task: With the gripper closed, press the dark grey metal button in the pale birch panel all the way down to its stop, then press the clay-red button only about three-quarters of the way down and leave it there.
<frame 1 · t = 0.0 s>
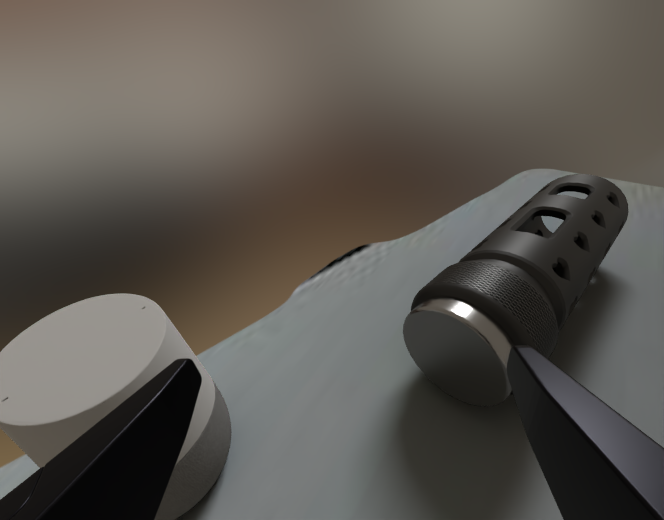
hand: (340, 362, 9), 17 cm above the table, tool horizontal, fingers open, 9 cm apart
muzzle brake: (518, 312, 32), on the table
smart speaker: (181, 466, 24), on the table
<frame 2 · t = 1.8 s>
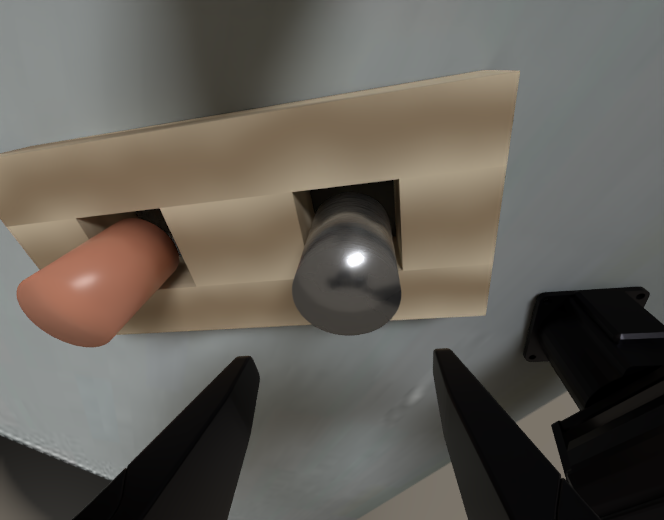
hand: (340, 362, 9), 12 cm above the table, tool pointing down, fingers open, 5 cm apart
red button: (111, 277, 15), point 6 cm above the table, slide at 0.0 cm
button panel: (260, 214, 20), on the table
grey button: (348, 257, 14), point 6 cm above the table, slide at 0.0 cm
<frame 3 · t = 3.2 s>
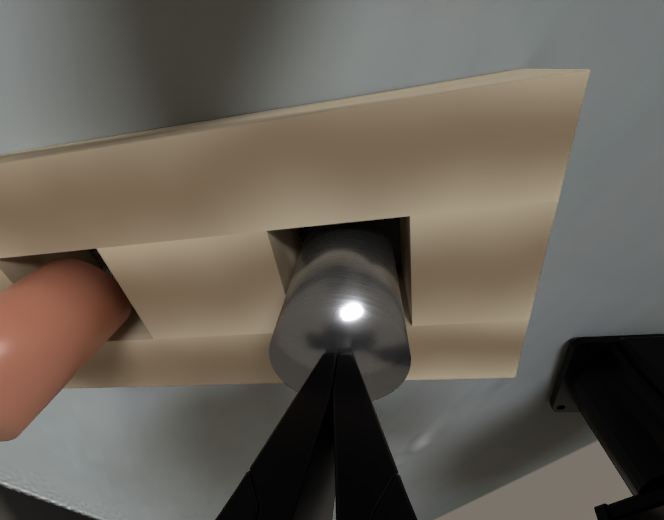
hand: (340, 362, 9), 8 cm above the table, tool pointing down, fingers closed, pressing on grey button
red button: (32, 339, 12), point 6 cm above the table, slide at 0.0 cm
button panel: (235, 245, 16), on the table
grey button: (343, 299, 11), point 5 cm above the table, slide at 1.2 cm, touching gripper
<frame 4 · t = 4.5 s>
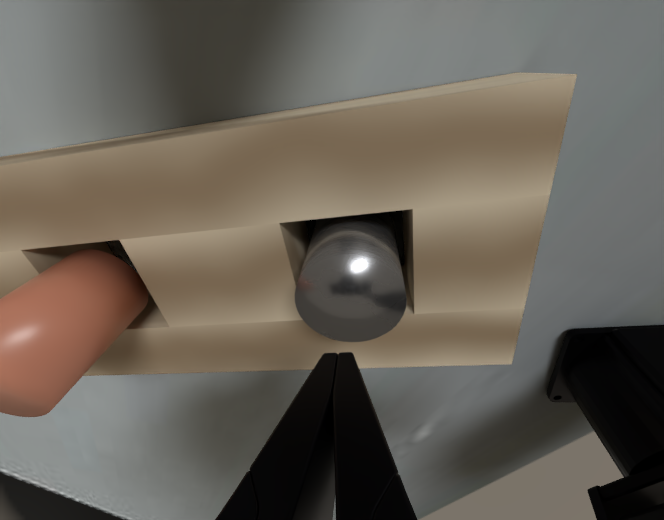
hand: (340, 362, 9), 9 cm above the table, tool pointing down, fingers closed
red button: (59, 324, 13), point 6 cm above the table, slide at 0.0 cm
button panel: (246, 239, 17), on the table
grey button: (352, 261, 13), point 3 cm above the table, slide at 3.0 cm
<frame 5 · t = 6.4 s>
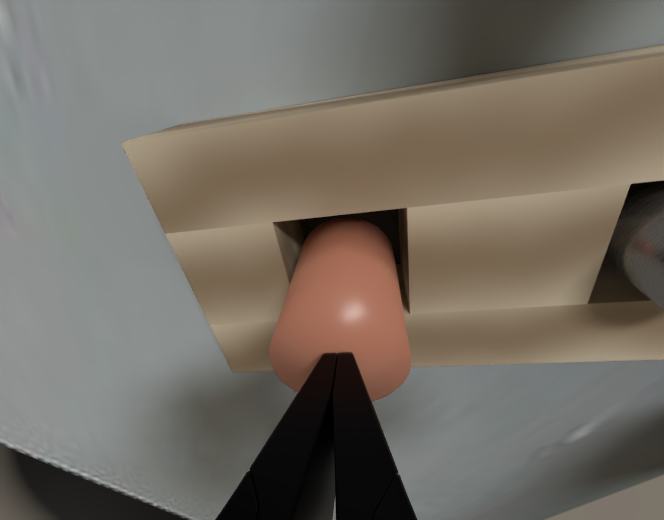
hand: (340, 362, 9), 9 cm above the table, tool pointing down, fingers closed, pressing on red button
red button: (343, 300, 11), point 6 cm above the table, slide at 0.4 cm, touching gripper
button panel: (471, 215, 15), on the table
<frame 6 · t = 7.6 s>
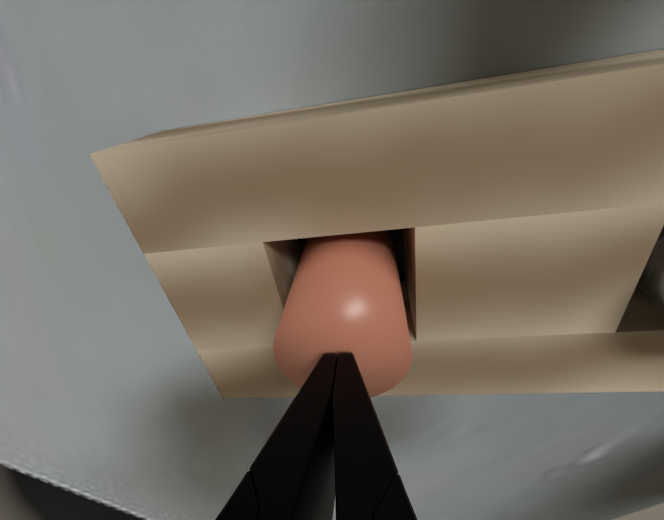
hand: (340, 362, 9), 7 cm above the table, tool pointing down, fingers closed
red button: (345, 297, 11), point 4 cm above the table, slide at 2.1 cm
button panel: (483, 230, 14), on the table
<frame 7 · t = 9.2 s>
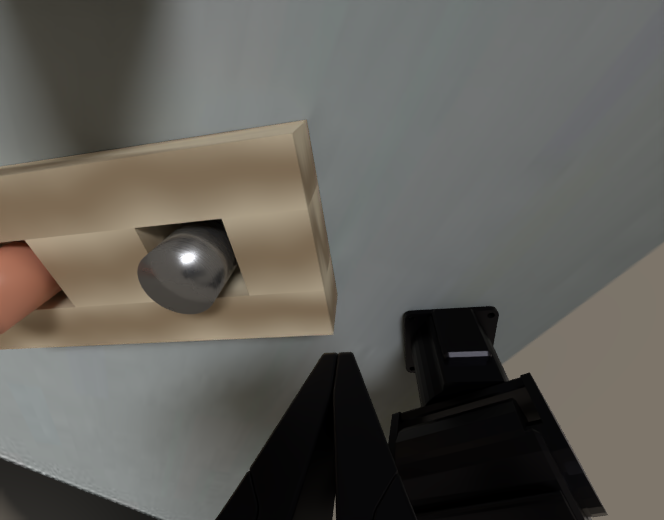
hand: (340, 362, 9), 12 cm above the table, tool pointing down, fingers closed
red button: (16, 279, 19), point 4 cm above the table, slide at 2.1 cm
button panel: (142, 239, 22), on the table
grey button: (201, 256, 18), point 3 cm above the table, slide at 3.0 cm
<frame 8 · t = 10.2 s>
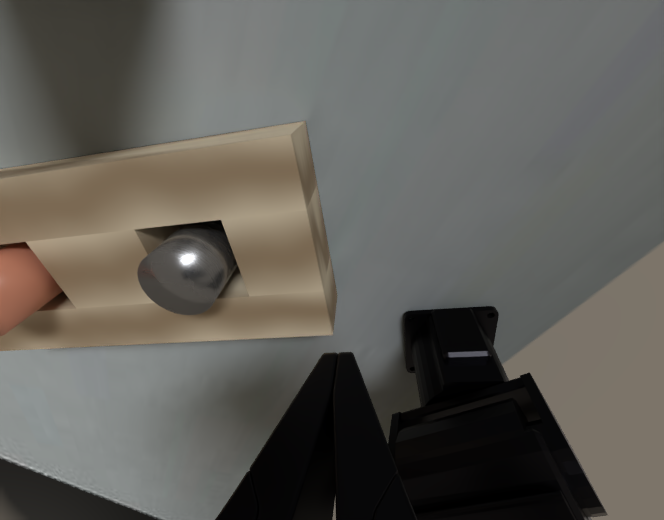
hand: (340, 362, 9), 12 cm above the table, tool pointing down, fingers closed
red button: (17, 281, 19), point 4 cm above the table, slide at 2.1 cm
button panel: (143, 240, 22), on the table
grey button: (200, 257, 18), point 3 cm above the table, slide at 3.0 cm
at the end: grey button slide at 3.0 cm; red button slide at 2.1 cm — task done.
